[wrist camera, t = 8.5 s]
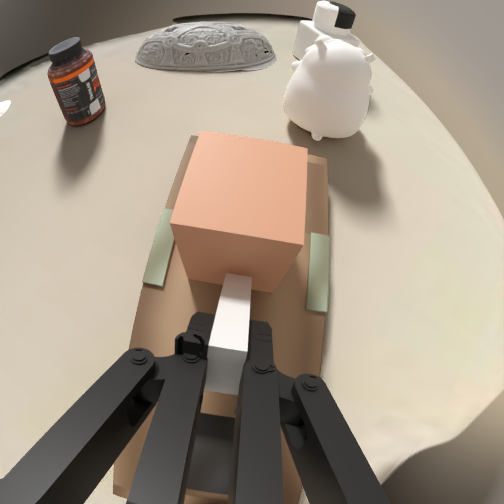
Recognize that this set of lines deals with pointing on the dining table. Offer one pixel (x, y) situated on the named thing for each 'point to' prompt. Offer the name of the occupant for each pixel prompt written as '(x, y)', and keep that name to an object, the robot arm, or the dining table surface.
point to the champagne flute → (4, 107)
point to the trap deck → (261, 309)
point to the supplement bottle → (75, 82)
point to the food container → (206, 48)
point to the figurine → (330, 89)
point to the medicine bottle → (325, 26)
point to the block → (241, 209)
